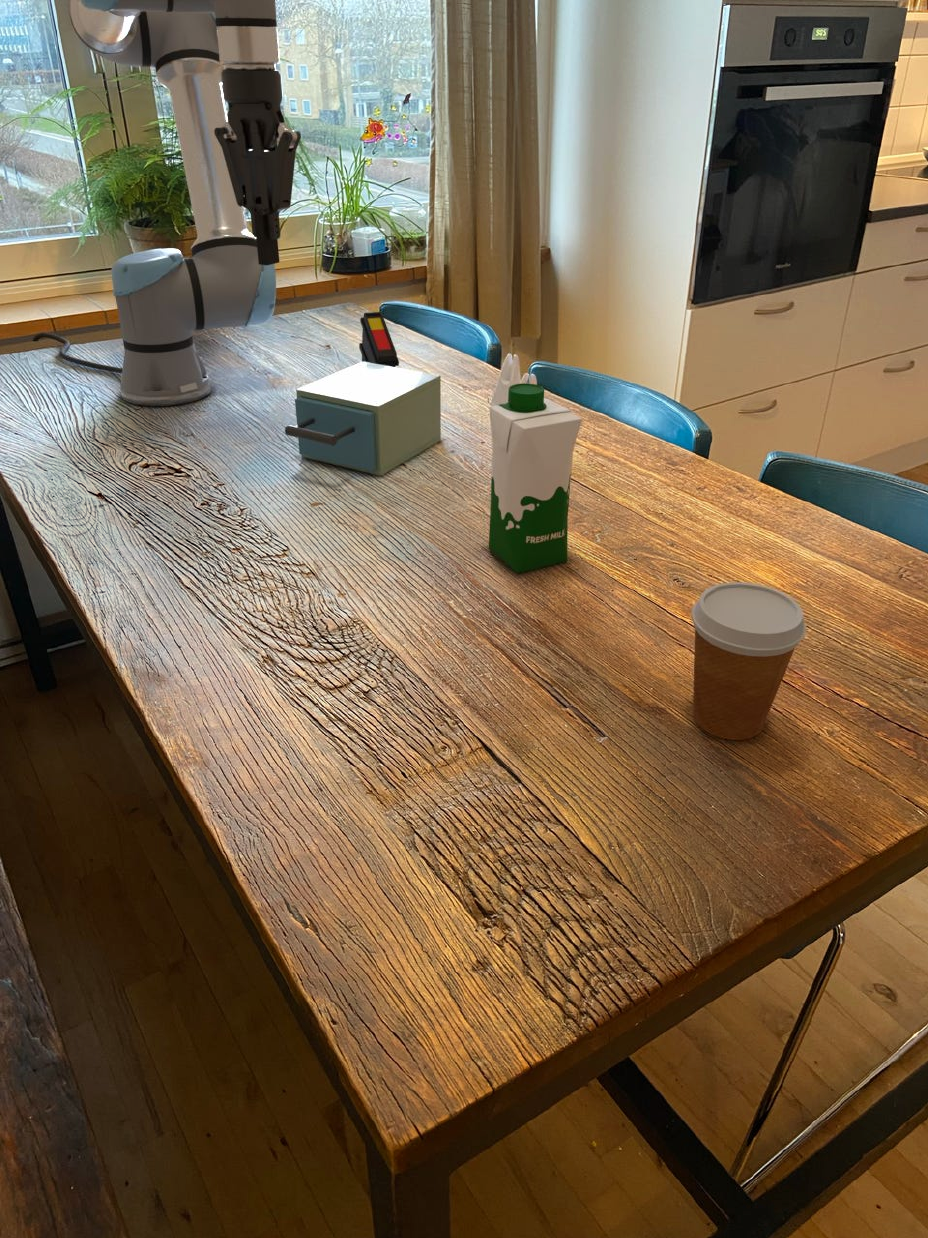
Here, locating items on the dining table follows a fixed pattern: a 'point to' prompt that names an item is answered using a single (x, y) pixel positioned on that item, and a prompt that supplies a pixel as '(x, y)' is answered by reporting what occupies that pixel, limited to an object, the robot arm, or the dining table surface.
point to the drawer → (335, 433)
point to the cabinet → (387, 408)
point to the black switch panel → (377, 341)
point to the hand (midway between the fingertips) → (269, 263)
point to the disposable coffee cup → (741, 655)
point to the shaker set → (509, 380)
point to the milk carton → (531, 478)
